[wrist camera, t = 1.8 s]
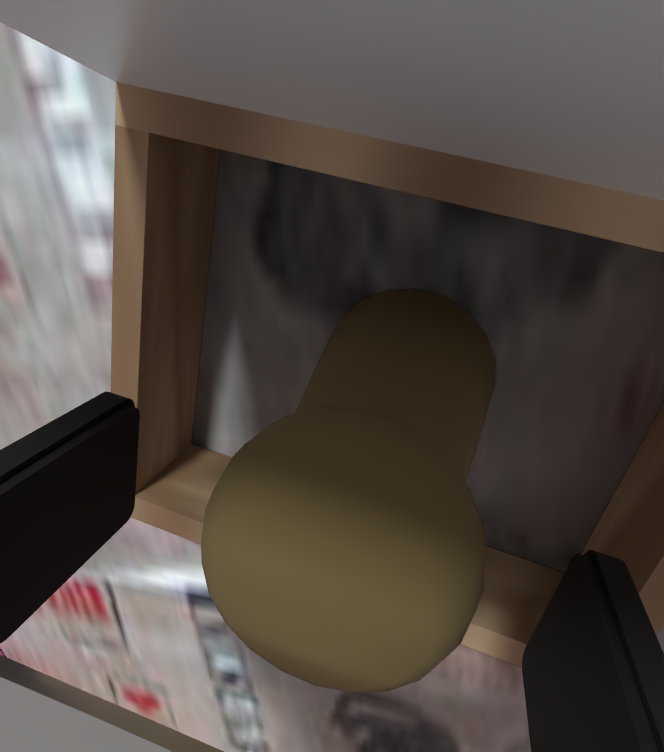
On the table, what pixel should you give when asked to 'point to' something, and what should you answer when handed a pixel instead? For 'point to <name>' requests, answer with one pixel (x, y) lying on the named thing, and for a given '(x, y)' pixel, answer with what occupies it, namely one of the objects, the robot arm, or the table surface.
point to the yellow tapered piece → (361, 503)
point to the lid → (402, 71)
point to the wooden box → (188, 294)
